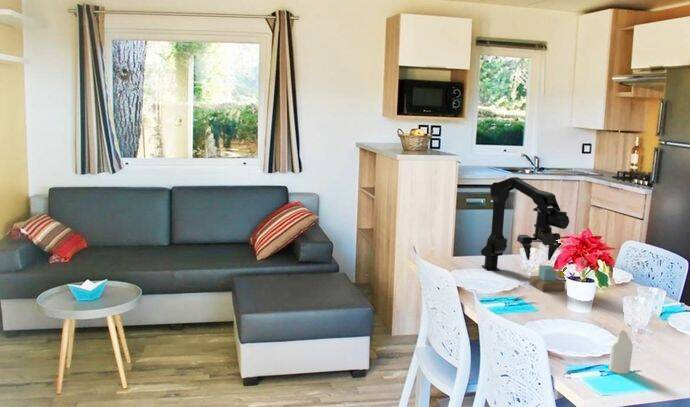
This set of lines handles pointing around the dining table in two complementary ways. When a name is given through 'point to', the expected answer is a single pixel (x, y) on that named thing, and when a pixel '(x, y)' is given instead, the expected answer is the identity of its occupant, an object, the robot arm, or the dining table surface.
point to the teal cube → (547, 273)
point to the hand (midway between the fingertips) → (538, 259)
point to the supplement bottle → (560, 274)
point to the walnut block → (547, 284)
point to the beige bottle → (621, 354)
